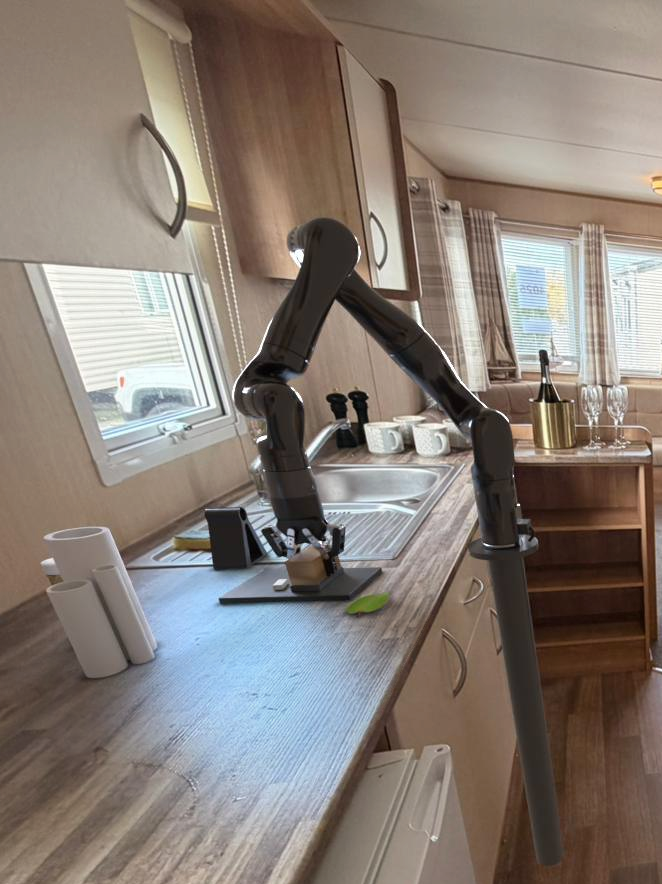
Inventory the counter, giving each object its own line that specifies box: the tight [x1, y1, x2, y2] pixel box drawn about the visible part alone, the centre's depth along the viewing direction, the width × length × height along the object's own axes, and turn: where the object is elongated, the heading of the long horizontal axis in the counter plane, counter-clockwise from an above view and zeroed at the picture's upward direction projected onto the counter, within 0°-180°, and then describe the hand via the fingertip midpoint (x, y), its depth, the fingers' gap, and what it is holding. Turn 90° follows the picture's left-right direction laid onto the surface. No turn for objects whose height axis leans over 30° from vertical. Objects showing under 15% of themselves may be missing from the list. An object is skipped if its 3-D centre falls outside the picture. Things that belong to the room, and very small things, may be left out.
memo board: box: [218, 566, 383, 605], centre depth 127 cm, size 22×15×1 cm
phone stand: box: [204, 506, 268, 570], centre depth 135 cm, size 9×6×12 cm, turn 15°
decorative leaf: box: [346, 592, 390, 618], centre depth 121 cm, size 8×9×1 cm
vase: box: [43, 526, 158, 679], centre depth 96 cm, size 11×7×20 cm, turn 31°
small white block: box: [273, 579, 289, 590], centre depth 124 cm, size 2×3×1 cm, turn 20°
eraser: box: [284, 544, 344, 591], centre depth 126 cm, size 5×10×6 cm, turn 10°
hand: (316, 575), depth 127 cm, fingers closed on eraser, 4 cm apart
